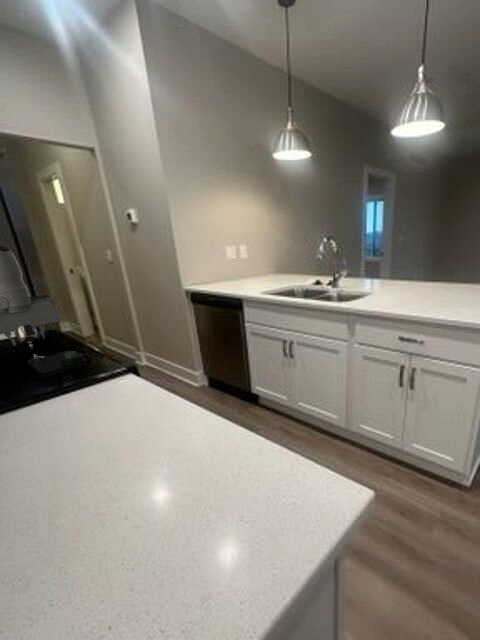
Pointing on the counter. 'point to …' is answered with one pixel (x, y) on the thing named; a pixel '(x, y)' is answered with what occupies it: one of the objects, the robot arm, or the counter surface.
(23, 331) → the wineglass
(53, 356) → the scale
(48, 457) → the counter surface
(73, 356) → the tare button
